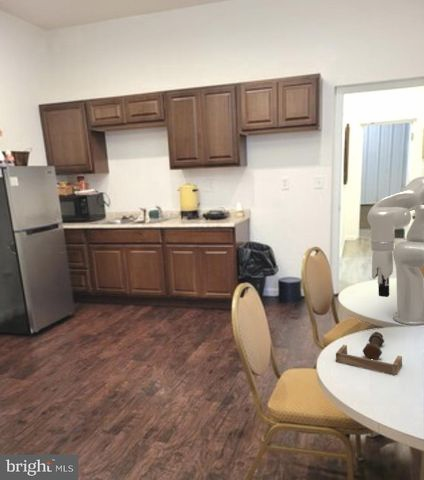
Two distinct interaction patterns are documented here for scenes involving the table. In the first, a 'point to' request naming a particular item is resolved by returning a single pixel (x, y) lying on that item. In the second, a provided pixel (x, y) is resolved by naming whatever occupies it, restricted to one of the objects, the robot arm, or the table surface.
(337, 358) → the bracket
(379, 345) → the bolt
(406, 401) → the table surface
